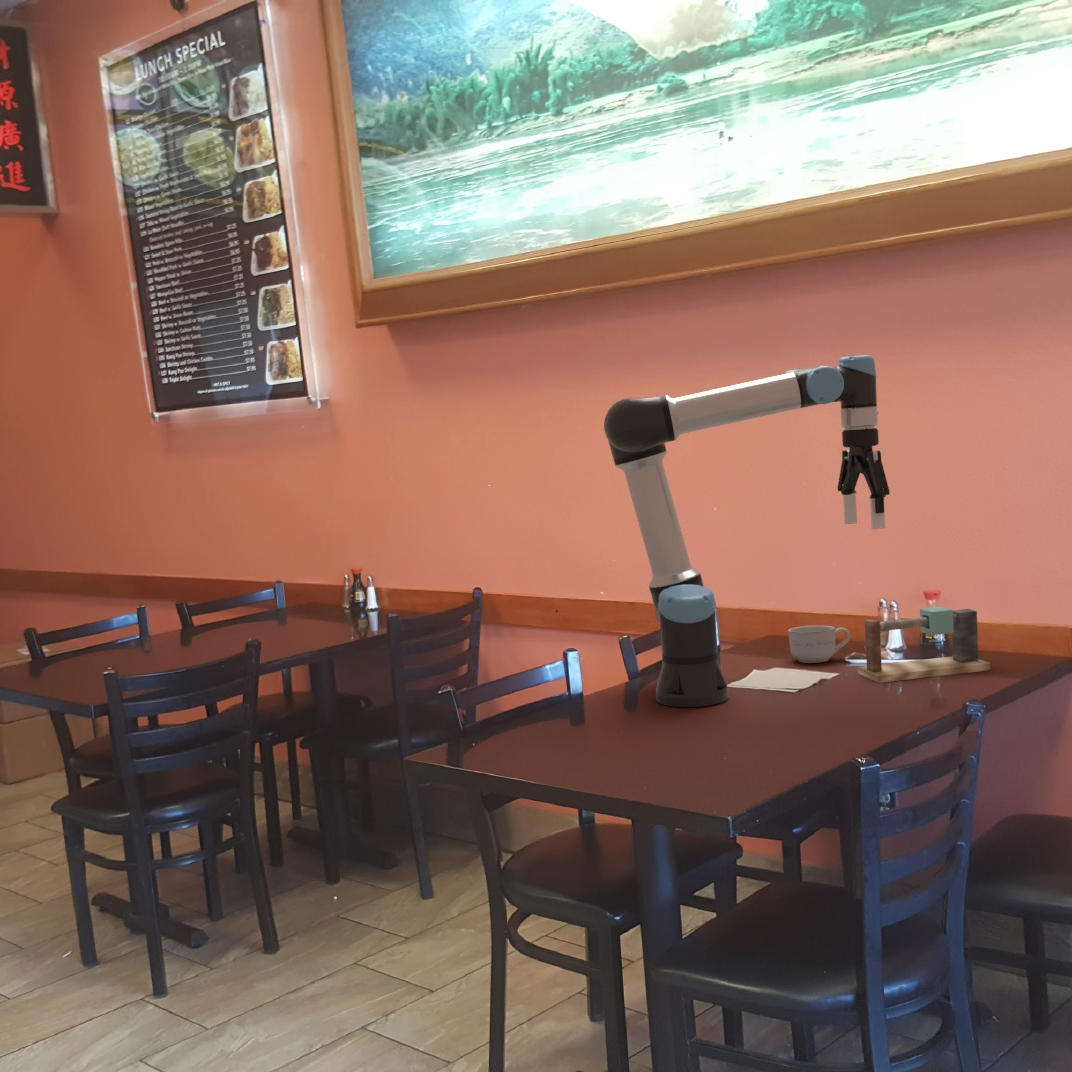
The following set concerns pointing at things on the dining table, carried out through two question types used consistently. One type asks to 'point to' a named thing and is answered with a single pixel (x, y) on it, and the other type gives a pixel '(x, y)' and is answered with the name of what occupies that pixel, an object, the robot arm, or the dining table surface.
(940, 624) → the sleeve
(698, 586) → the robot arm
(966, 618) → the rod stand
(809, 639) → the teacup
